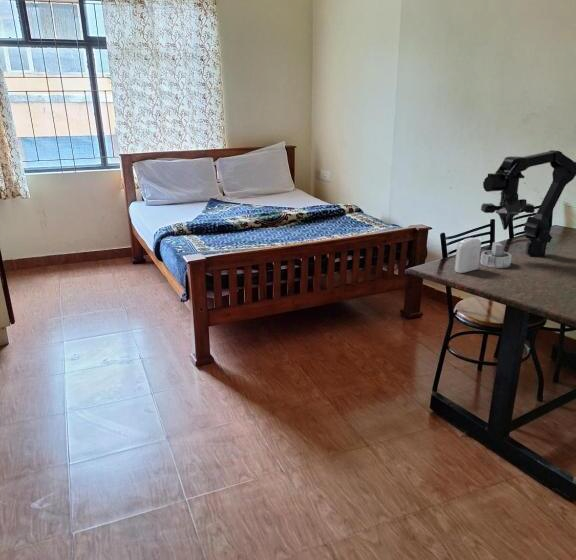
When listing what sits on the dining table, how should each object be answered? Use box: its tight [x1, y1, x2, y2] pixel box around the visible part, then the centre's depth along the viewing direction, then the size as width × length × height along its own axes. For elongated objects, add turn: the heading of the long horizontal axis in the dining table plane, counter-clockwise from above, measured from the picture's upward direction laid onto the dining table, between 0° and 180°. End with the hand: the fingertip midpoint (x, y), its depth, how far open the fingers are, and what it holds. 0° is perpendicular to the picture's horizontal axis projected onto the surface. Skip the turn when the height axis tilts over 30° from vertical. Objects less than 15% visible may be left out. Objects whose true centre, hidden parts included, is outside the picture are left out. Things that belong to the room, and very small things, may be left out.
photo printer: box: [454, 237, 482, 274], centre depth 185 cm, size 10×4×12 cm, turn 123°
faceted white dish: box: [479, 249, 513, 269], centre depth 195 cm, size 11×11×4 cm
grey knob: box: [487, 241, 506, 257], centre depth 194 cm, size 7×7×6 cm
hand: (504, 229), depth 200 cm, fingers closed
